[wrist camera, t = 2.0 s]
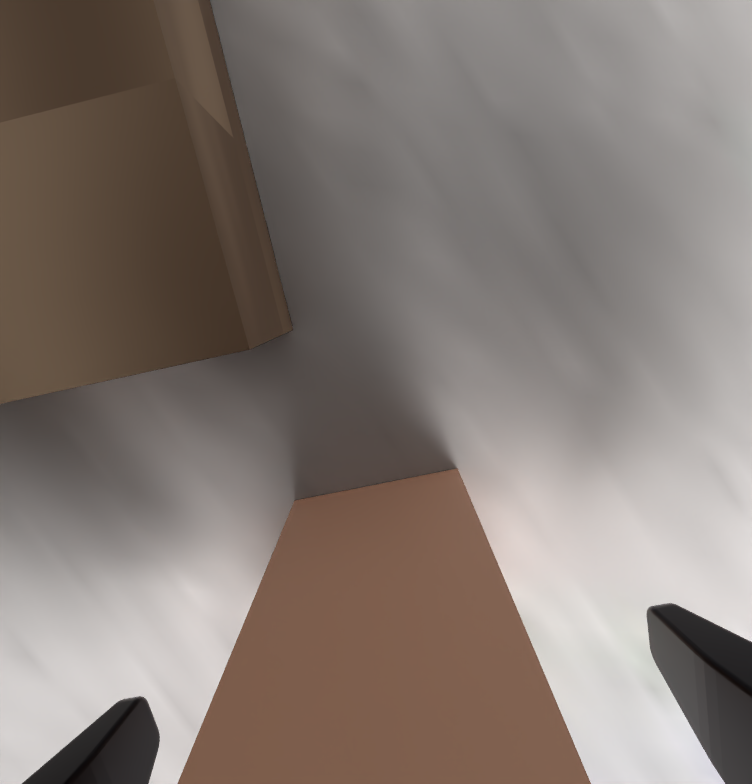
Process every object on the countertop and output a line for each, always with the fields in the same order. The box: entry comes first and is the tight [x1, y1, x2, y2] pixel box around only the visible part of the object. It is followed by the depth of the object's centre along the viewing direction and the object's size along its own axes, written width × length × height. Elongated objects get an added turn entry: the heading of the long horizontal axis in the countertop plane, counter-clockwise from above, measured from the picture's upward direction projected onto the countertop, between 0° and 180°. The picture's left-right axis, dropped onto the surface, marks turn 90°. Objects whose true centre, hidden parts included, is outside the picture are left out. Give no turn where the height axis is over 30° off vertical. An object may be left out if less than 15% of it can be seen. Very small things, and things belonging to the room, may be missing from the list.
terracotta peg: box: [178, 469, 591, 784], centre depth 7 cm, size 4×4×9 cm
